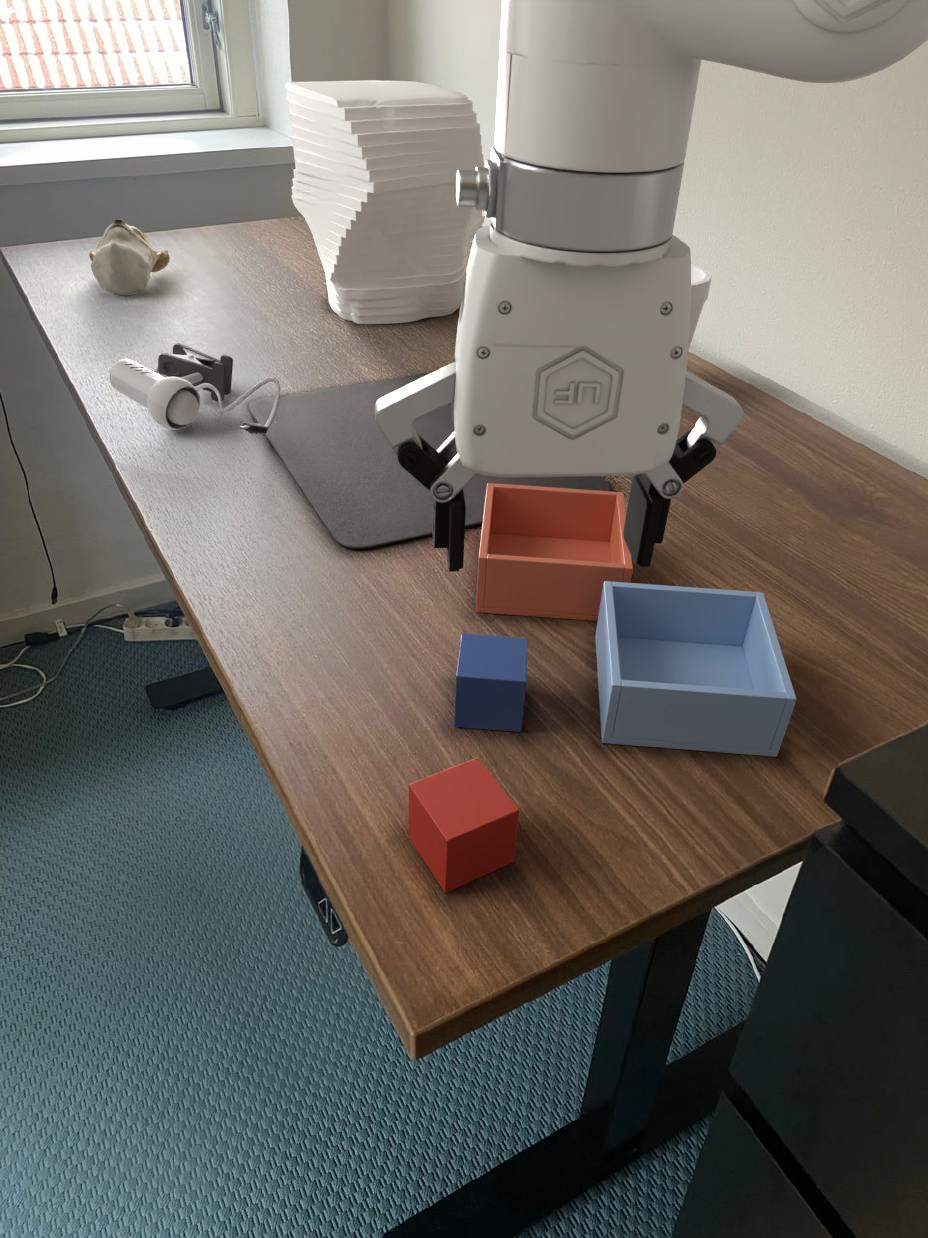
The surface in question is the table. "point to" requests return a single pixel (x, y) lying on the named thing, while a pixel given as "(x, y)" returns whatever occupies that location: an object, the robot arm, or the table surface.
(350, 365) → the table surface
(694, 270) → the foam cup
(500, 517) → the red bin
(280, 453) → the mouse pad
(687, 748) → the blue bin
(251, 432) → the clip-on lamp
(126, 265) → the ceramic sculpture
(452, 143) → the paper stack
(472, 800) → the red block
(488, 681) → the blue block
